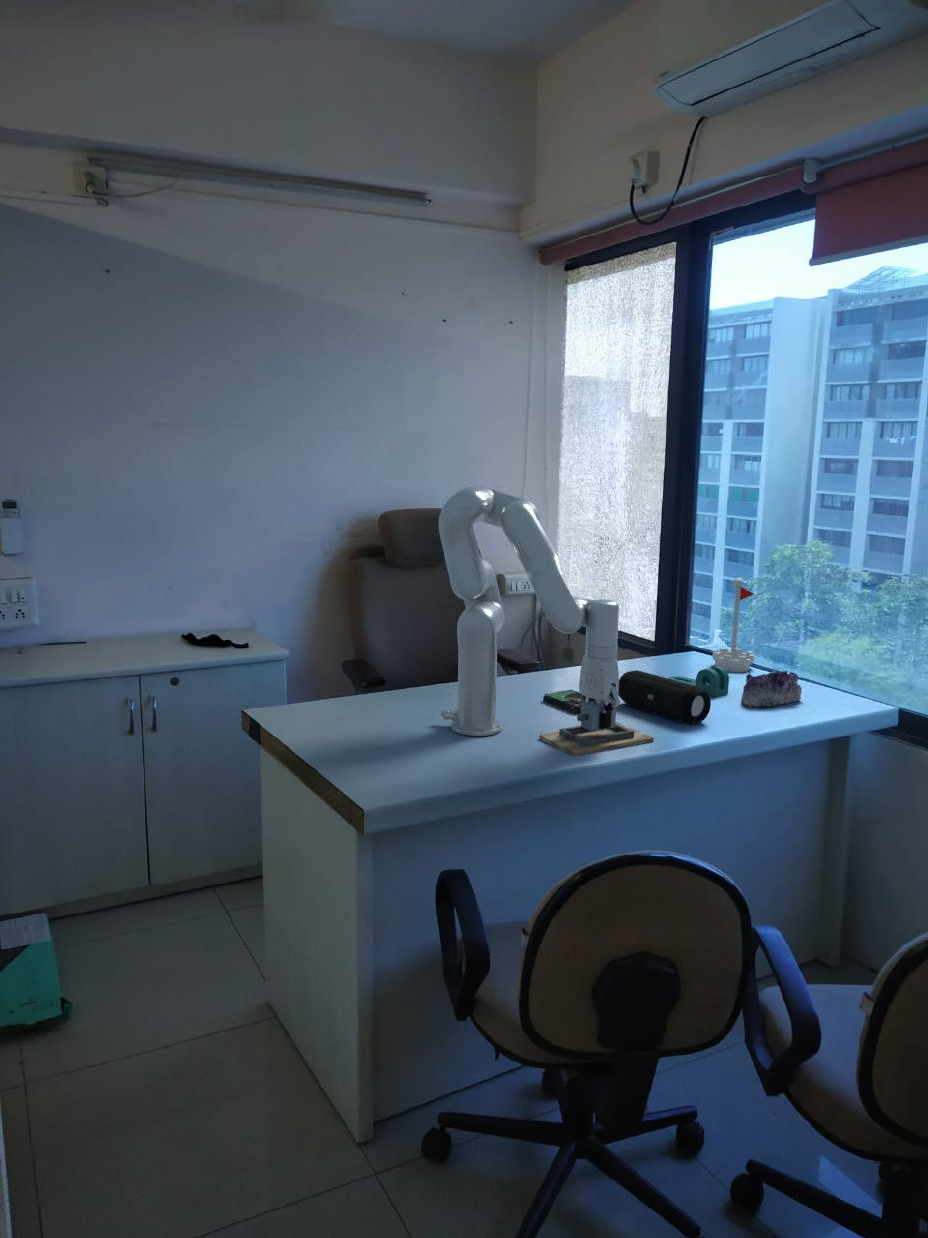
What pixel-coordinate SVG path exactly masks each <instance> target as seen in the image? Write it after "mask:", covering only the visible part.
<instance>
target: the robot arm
mask: <svg viewBox="0 0 928 1238" xmlns="http://www.w3.org/2000/svg"><path fill="white" fill-rule="evenodd" d="M440 510H441V511H440V514H439V517H438V532H439V536H440V542H441V546H442V550H443V555H444V559H445V560H444V561H445V564H446V568H447V572H448V577H449V583H450V586H451V587H450V588H451V589H452V591H453V594H455V596H456V597H457V598H459V599H461V600H463V602H464V606H465V609H464V610H463V612H462V613H461V614H460V615H459V618H458V621H457V626H456V636H457V637H456V638H457V650H458V655H457V657H458V659H457V660H458V661H457V662H458V667H457V669H458V670H457V671H458V674H457V676H458V677H457V709H454V710H450V709H441V713H440V714H441V715H440V716H441V718H443V720H451V721H452V722H451V724H450V729H451V730H452V732H455V734H459V735H463V736H469V737H470V736H471V737H484V736H485V737H488V736H492V735H496V734H498V733H500V732H501V731H502V724H501V723H500V722H499V721H497V720H496V713H497V712H496V707H497V678H498V677H497V673H498V668H497V667H498V665H497V663H498V650H497V648H498V647H497V633H498V632H500V630H501V629H502V627H503V626H504V623H505V612H504V611H505V610H504V605H503V601H502V597H501V593H500V589H499V585H498V580H497V577H496V573H495V571H494V569H493V566H492V565H491V564H490V563H489V562H488V561H486V560H485V559H483V558H481V554H480V550H479V543H478V540H477V537H476V533H475V532H474V526H475V524H476V523H478V522H483V523H485V524H488V525H492V526H494V527H496V528H497V527H498V528H500V529H501V530H502V531H503V533H504V535H505V536H506V538H507V540H508V541H509V544H510V545H511V547H512V549H513V550H514V552H515V554H516V556H517V558H518V560H519V561H520V563H521V565H522V567H523V568H524V570H525V572H526V575H527V578H528V580H529V583H530V585H531V586H532V589H533V590H534V594H535V596H536V598H537V600H538V602H539V604H540V606H541V608H542V610H543V611H544V613H545V614H546V616H547V618H548V620H549V621H550V624H551V625H552V626H553V627H554V628H555V629H556V630H557V631H558V632H560V633H562V634H567V635H569V634H574V633H576V632H577V631H578V630H580V629H581V628H582V627H585V628H586V629H585V651H584V652H585V654H583V656H582V660H581V666H580V671H579V672H580V673H579V682H578V683H579V684H578V692H579V693H581V694H582V696H583V698H584V701H585V702H588V701H594V700H597V701H600V702H601V711H602V712H600V718H599V728H600V729H605V728H610V727H611V713H612V712H613V710H614V708H615V707H616V708H617V707H618V706H620V705H621V700H620V697H619V695H618V692H619V679H620V674H619V664H618V663H619V662H618V640H619V639H618V638H619V636H618V635H619V614H620V607H619V604H618V602H616V601H614V600H611V599H589V598H583V597H578V596H573V595H572V593H571V592H570V589H569V587H568V586H567V584H566V582H565V579H564V576H563V573H562V570H561V565H560V564H561V563H560V559H559V555H558V553H557V551H556V549H555V547H554V545H553V543H552V542H551V540H550V539H549V536H548V535H547V533H546V532H545V529H544V528H543V526H542V524H541V522H540V513H539V510H538V508H537V506H536V505H535V504H534V503H533V502H531V501H530V500H528V499H523V498H520V497H517V496H514V495H512V494H511V495H510V494H507V493H504V492H502V491H499V490H495V489H492V488H489V487H486V486H483V485H481V486H480V485H476V486H475V485H474V486H469V487H465V488H462V489H460V490H458V491H457V492H455V493H454V494H452V496H450V497H449V498H448V499H447V501H446V502H445V504H443V506H442V508H441V509H440ZM605 702H608V705H607V706H606V704H605Z"/></svg>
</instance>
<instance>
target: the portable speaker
mask: <svg viewBox="0 0 928 1238" xmlns="http://www.w3.org/2000/svg"><path fill="white" fill-rule="evenodd" d="M668 678H669V677H664V676H660V675H657V674H653V673H649V672H645V671H642V670H637V669H636V670H635V669H634V670H630V671H626V672H624V673H623V674H622V675H621V676H620V677H619V692H618V697H619V699H621V700H622V701H623V702H624V703H625V704H626V705H628V706H631V707H633V708H637V709H641V710H643V711H647V712H650V713H653V714H656V715H659V716H663V717H666V718H669V719H671V720H675V721H679V722H682V723H686V724H689V725H690V724H691V725H692V724H697V723H701V722H704V720H705V719H707V717H708V716H709V713H710V711H711V703H712V702H711V697H709V695H708V694H707V693H706V692H705V691H704V690H703V689H701V688H700V687H697V686H694V685H690V684H687V683H683V682H679V681H675V680H672V679H668Z"/></svg>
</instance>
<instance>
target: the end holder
mask: <svg viewBox="0 0 928 1238" xmlns="http://www.w3.org/2000/svg"><path fill="white" fill-rule="evenodd" d="M654 739H655V738H654V737H653V736H652V735H649V734H646V733H643V732H641V731H640V730H636V729H635V728H632V727H629V726H627V725H624V724H622V723H621V722H617V721H615V727H614V728H608V729H603V730H597V731H590V730H588V729H586V728H583V727H581V725H578V726H571V727H565V728H559V731H556V732H550V733H542V734H539V740H540V741H542V742H545V743H547V744H548V745H551V746H553V747H555V748H557V749H559V750H561V751H562V752H565V753H567V754H569V755H572V756H573V757H575V756H576V757H577V756H581V755H582V756H583V755H587V754H588V755H589V754H593V753H597V752H598V753H599V752H603V751H608V750H609V751H610V750H615V749H620V748H625V747H626V748H627V747H631V746H635V745H637V746H638V745H642V744H647V743H648V744H649V743H653V742H654Z"/></svg>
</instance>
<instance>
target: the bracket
mask: <svg viewBox="0 0 928 1238" xmlns="http://www.w3.org/2000/svg"><path fill="white" fill-rule="evenodd" d="M667 678H668V679H672V680H675V681H679V682H683V683H687V684H690V685H694V686H697V687H700V688H701V689H703V690H704V691H705V692H706V693H707V694H708V695H709V697H710V698H715V699H716V698H720V697H722V696H726V695H728V693H729V684H730V676H729V673H728V671H726V670H725V669H724V668H723V667H720V666H715V665H714V666H712V667H709V668H705V669H704V668H703V669H700V670H699V671H698V673H696V677H695V678H692V677H691V678H690V677H688V676H686V677H685V676H678V675H677V676H676V675H674V676H669V677H667Z"/></svg>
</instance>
